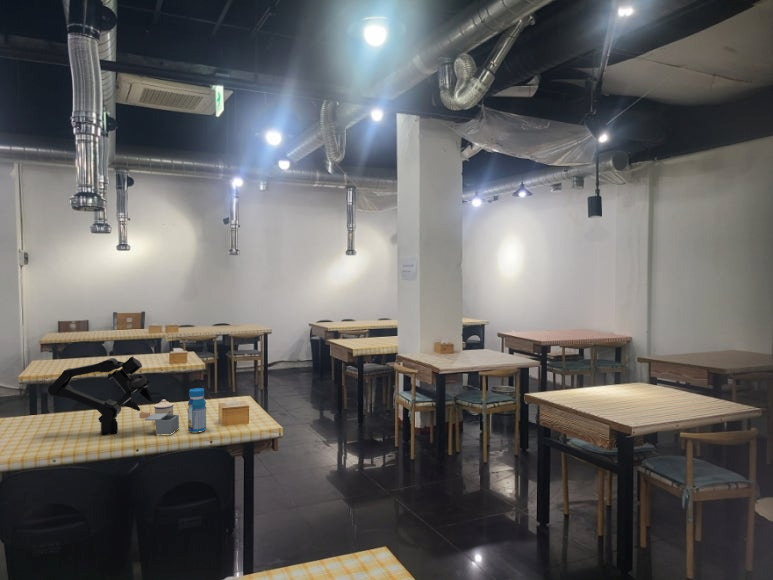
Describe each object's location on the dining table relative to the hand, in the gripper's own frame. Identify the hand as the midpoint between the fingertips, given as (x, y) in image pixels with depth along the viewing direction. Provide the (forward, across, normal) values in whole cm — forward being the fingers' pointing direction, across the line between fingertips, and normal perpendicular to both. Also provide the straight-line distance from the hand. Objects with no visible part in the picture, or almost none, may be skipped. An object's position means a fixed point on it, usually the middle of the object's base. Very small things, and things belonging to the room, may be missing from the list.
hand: (145, 405), depth 248 cm
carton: (+16, -3, -2) cm, 17 cm away
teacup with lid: (+13, +12, +10) cm, 20 cm away
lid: (+6, -2, -1) cm, 7 cm away
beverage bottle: (+25, +1, -12) cm, 27 cm away
